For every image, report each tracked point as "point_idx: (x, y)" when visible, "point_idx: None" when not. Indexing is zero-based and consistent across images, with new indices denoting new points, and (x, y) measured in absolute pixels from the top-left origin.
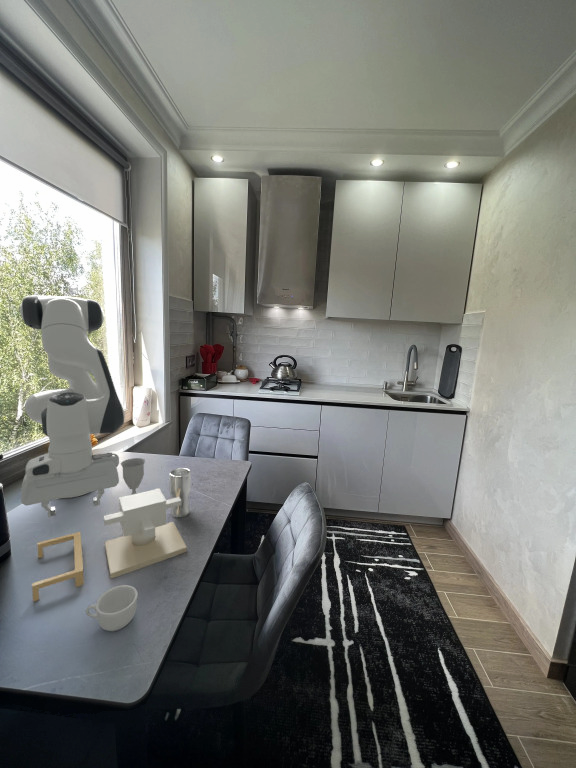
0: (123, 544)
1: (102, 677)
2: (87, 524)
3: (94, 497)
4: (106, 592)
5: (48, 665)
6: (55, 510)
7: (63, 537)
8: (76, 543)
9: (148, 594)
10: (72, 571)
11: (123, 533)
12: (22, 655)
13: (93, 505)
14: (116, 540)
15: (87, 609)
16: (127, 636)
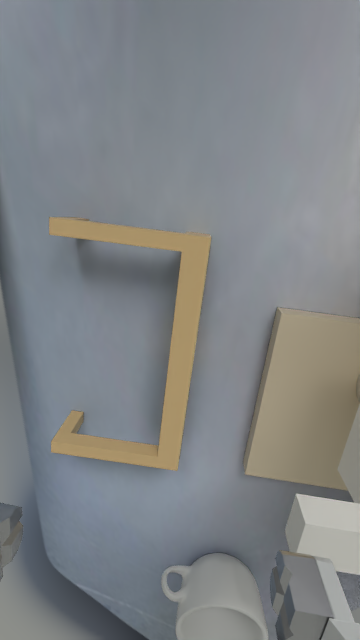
0: (328, 374)
1: (169, 631)
2: (266, 77)
3: (309, 613)
4: (206, 606)
5: (101, 572)
6: (9, 520)
7: (143, 241)
8: (182, 320)
9: None
10: (150, 457)
11: (344, 460)
12: (63, 532)
13: (272, 576)
14: (318, 334)
15: (163, 590)
16: None
